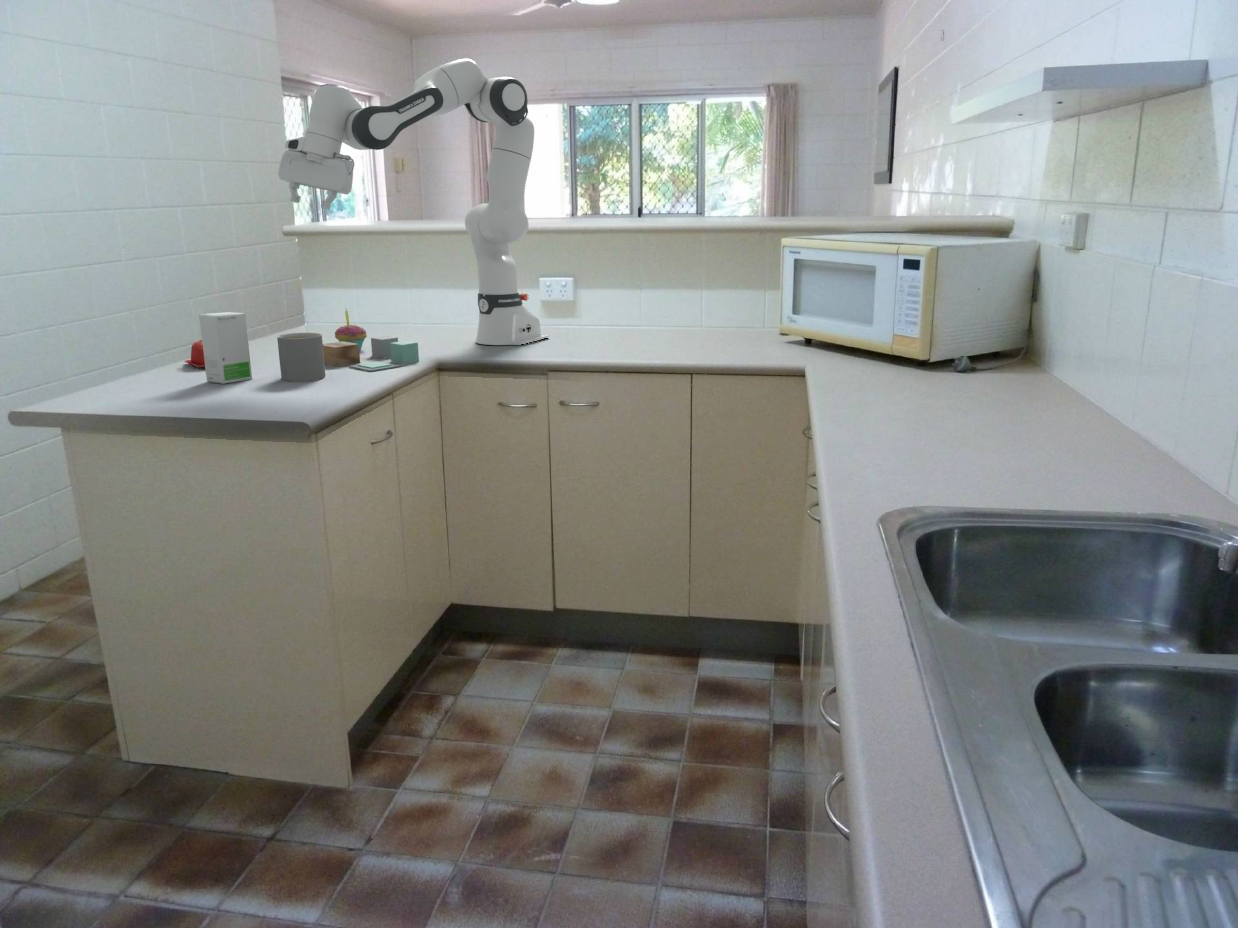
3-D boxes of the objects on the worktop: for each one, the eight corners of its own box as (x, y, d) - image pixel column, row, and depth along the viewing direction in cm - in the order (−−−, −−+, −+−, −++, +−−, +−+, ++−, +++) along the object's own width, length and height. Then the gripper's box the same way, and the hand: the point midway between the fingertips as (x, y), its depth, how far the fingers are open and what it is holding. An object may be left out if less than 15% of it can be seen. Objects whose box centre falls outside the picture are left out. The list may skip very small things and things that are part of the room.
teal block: (406, 359, 246) (405, 340, 244) (418, 361, 243) (417, 342, 241) (391, 362, 242) (389, 343, 241) (403, 364, 239) (402, 345, 238)
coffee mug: (323, 381, 218) (319, 338, 215) (278, 382, 216) (274, 339, 213) (328, 370, 230) (325, 330, 227) (286, 372, 228) (282, 331, 226)
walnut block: (344, 360, 245) (342, 341, 244) (360, 363, 241) (358, 344, 239) (320, 364, 240) (319, 344, 239) (336, 367, 236) (335, 347, 234)
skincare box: (222, 384, 213) (214, 316, 209) (204, 381, 217) (196, 314, 212) (254, 378, 220) (246, 312, 216) (236, 376, 223) (228, 310, 219)
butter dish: (182, 365, 239) (178, 332, 236) (228, 360, 246) (224, 327, 244) (198, 371, 230) (193, 337, 228) (244, 365, 238) (241, 332, 235)
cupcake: (362, 353, 254) (359, 309, 251) (331, 353, 255) (327, 309, 251) (371, 348, 263) (368, 305, 259) (341, 348, 263) (337, 305, 259)
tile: (379, 362, 240) (379, 360, 240) (401, 366, 235) (400, 364, 235) (349, 367, 234) (349, 364, 234) (370, 372, 228) (370, 369, 228)
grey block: (387, 354, 254) (386, 335, 253) (399, 356, 251) (397, 337, 250) (372, 356, 250) (370, 337, 249) (383, 358, 247) (382, 339, 246)
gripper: (363, 160, 232) (351, 216, 234) (297, 147, 239) (286, 201, 240) (347, 153, 226) (335, 210, 228) (280, 140, 233) (269, 195, 234)
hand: (309, 205), depth 234 cm, fingers open, 8 cm apart
